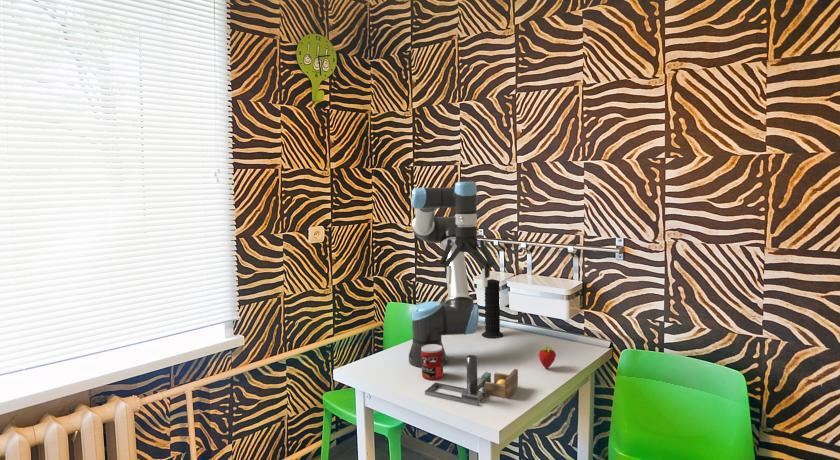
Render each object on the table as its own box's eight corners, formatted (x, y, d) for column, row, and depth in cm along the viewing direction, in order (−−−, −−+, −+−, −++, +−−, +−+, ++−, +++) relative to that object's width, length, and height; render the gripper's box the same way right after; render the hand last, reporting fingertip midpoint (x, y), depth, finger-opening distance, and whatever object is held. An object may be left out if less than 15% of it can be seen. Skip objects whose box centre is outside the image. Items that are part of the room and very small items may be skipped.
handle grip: (480, 338, 223) (503, 339, 221) (480, 281, 220) (502, 281, 219) (482, 331, 233) (503, 332, 231) (481, 276, 230) (503, 277, 228)
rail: (424, 394, 165) (424, 391, 165) (435, 385, 172) (435, 382, 172) (477, 405, 156) (477, 402, 156) (486, 396, 163) (486, 392, 163)
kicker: (461, 398, 161) (460, 357, 159) (477, 382, 173) (477, 344, 172) (478, 402, 158) (478, 360, 156) (493, 385, 170) (493, 346, 169)
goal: (485, 394, 164) (484, 375, 164) (495, 383, 173) (495, 365, 172) (508, 399, 160) (508, 380, 160) (517, 387, 169) (517, 369, 168)
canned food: (417, 376, 180) (416, 347, 179) (432, 370, 186) (432, 342, 185) (432, 382, 175) (431, 352, 174) (447, 375, 181) (446, 347, 180)
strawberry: (558, 367, 186) (558, 342, 185) (550, 374, 180) (550, 347, 179) (544, 364, 190) (544, 339, 189) (535, 370, 184) (535, 344, 183)
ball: (504, 395, 164) (493, 390, 166) (507, 390, 168) (497, 385, 169) (507, 384, 163) (496, 379, 165) (510, 380, 167) (500, 375, 169)
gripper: (429, 225, 174) (430, 284, 176) (496, 227, 162) (496, 290, 164) (439, 224, 181) (440, 280, 183) (503, 225, 169) (504, 286, 171)
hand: (466, 285), depth 173 cm, fingers open, 13 cm apart
